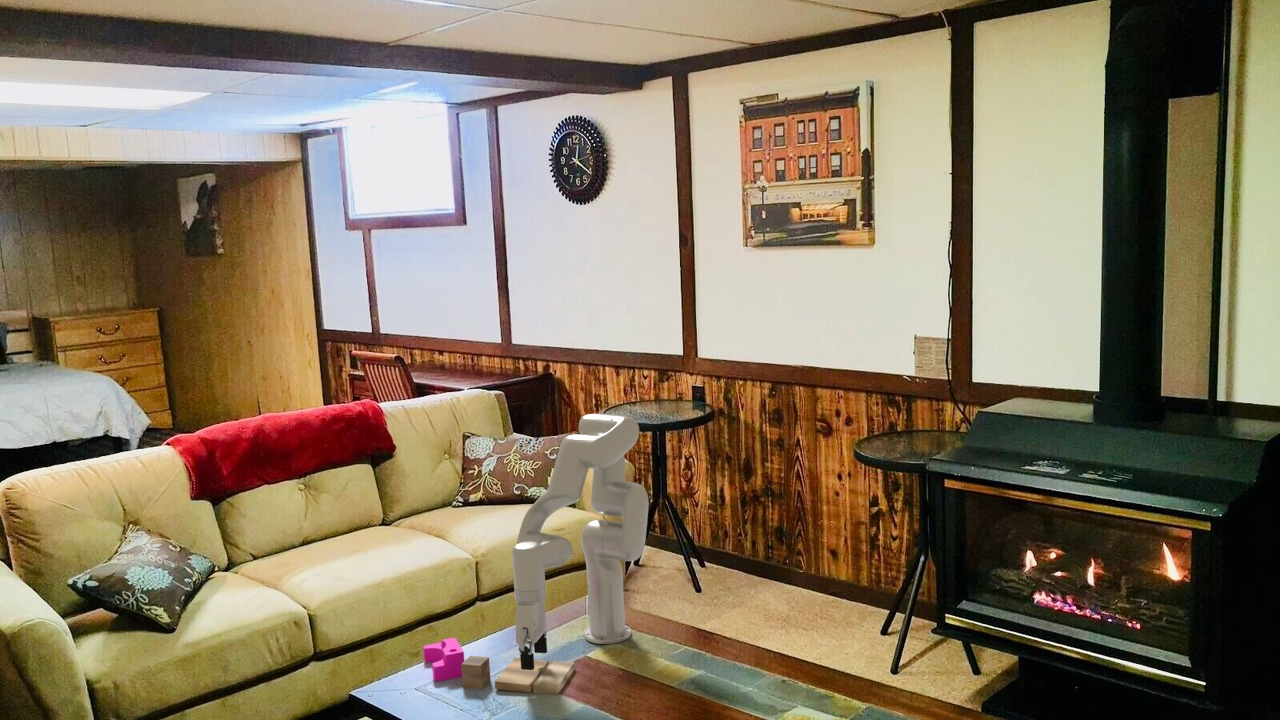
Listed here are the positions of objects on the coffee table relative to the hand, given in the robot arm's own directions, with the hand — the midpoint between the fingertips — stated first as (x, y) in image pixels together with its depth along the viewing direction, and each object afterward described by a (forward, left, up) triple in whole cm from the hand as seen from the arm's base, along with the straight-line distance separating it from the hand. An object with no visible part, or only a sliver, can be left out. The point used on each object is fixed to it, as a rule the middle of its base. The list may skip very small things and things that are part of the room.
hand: (534, 660), depth 251 cm
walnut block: (+4, -14, -5) cm, 15 cm away
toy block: (-6, -23, -2) cm, 23 cm away
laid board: (0, +5, -5) cm, 7 cm away
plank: (0, +2, -3) cm, 3 cm away
